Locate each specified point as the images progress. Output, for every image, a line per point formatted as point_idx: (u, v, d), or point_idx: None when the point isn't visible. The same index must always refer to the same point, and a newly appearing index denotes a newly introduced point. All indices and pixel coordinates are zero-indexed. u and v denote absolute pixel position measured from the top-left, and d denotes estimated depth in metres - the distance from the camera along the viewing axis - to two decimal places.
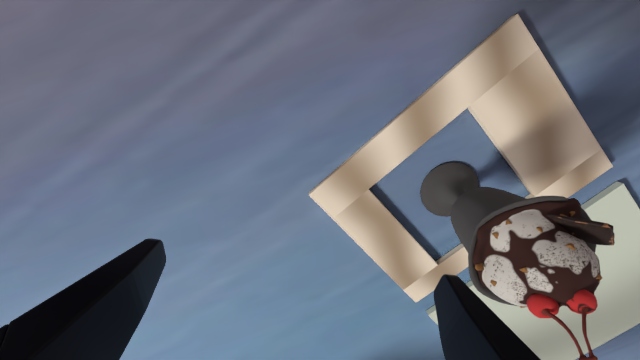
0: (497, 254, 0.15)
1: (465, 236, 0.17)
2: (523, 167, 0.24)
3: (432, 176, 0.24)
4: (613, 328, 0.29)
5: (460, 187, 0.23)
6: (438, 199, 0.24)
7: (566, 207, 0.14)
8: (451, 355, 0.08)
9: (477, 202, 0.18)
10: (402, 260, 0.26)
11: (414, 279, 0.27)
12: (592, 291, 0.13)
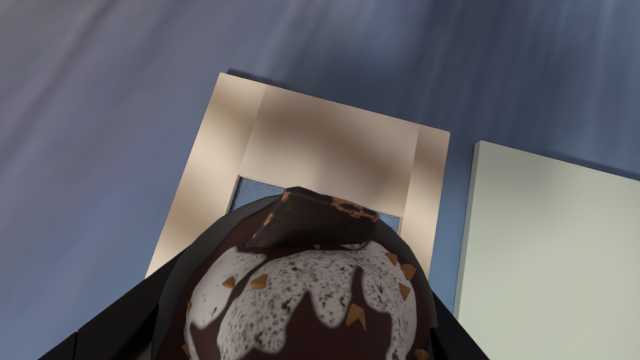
0: None
1: None
2: (358, 195, 0.17)
3: None
4: None
5: None
6: None
7: None
8: None
9: None
10: None
11: None
12: None
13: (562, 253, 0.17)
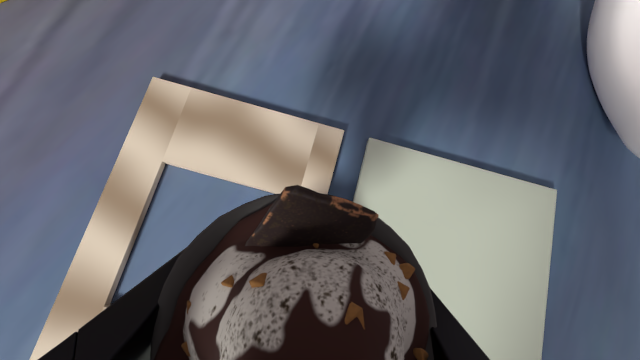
0: None
1: None
2: (261, 180, 0.21)
3: None
4: (533, 283, 0.21)
5: None
6: None
7: None
8: None
9: None
10: None
11: None
12: None
13: (428, 232, 0.21)
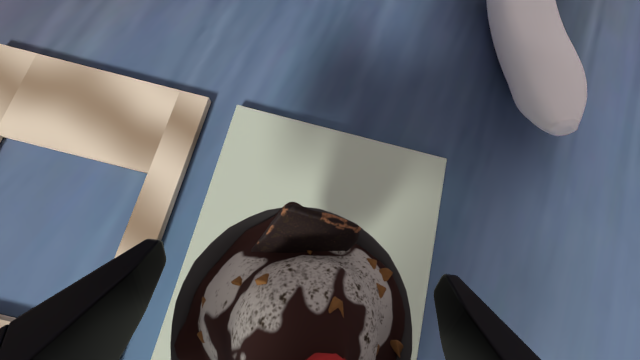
0: None
1: None
2: (107, 153, 0.19)
3: None
4: (414, 261, 0.18)
5: None
6: None
7: None
8: (451, 355, 0.08)
9: None
10: None
11: None
12: (337, 345, 0.05)
13: None
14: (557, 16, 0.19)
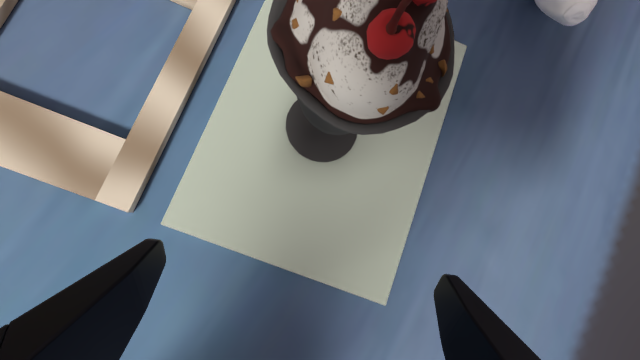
0: (310, 42, 0.09)
1: None
2: None
3: (291, 117, 0.19)
4: (426, 126, 0.21)
5: None
6: (312, 138, 0.19)
7: None
8: (451, 355, 0.08)
9: None
10: (67, 154, 0.17)
11: (102, 175, 0.17)
12: None
13: None
14: None
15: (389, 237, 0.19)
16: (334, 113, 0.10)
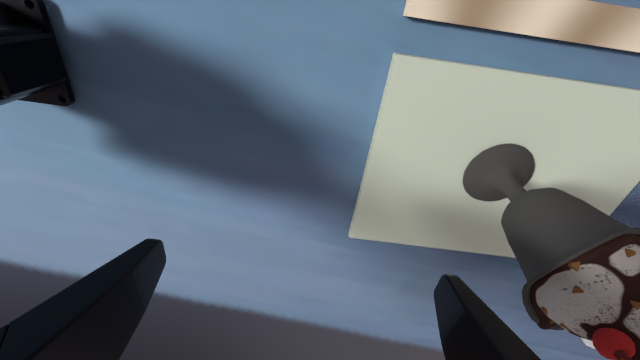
0: (610, 269, 0.12)
1: (556, 226, 0.14)
2: None
3: (508, 149, 0.20)
4: (494, 245, 0.25)
5: (518, 180, 0.20)
6: (486, 172, 0.21)
7: None
8: (451, 355, 0.08)
9: (589, 208, 0.14)
10: None
11: None
12: None
13: (565, 167, 0.21)
14: None
15: (399, 233, 0.25)
16: (542, 277, 0.13)
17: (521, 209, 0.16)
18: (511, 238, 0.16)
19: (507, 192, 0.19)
